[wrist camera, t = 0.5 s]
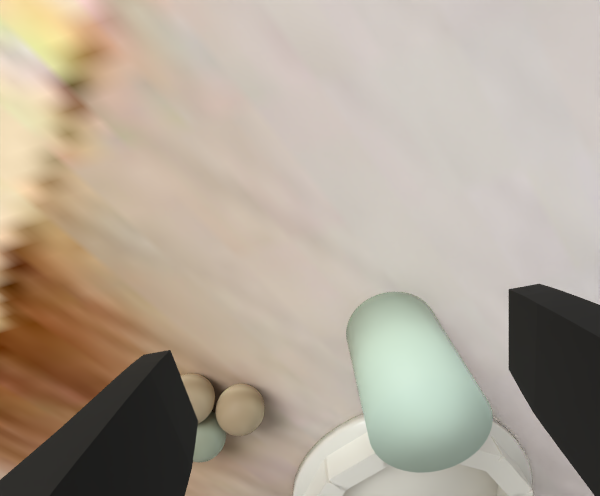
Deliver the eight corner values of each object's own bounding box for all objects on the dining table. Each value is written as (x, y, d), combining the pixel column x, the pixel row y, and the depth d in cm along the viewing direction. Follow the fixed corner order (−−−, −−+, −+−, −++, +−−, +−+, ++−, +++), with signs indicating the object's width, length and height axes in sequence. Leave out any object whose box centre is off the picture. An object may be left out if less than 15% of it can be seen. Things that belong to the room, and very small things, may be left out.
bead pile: (272, 380, 21) (270, 416, 19) (243, 446, 22) (238, 486, 20) (155, 347, 20) (138, 381, 18) (134, 419, 22) (116, 458, 19)
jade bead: (451, 308, 19) (516, 398, 14) (410, 376, 21) (454, 483, 15) (368, 280, 19) (402, 364, 13) (332, 353, 20) (349, 456, 15)
